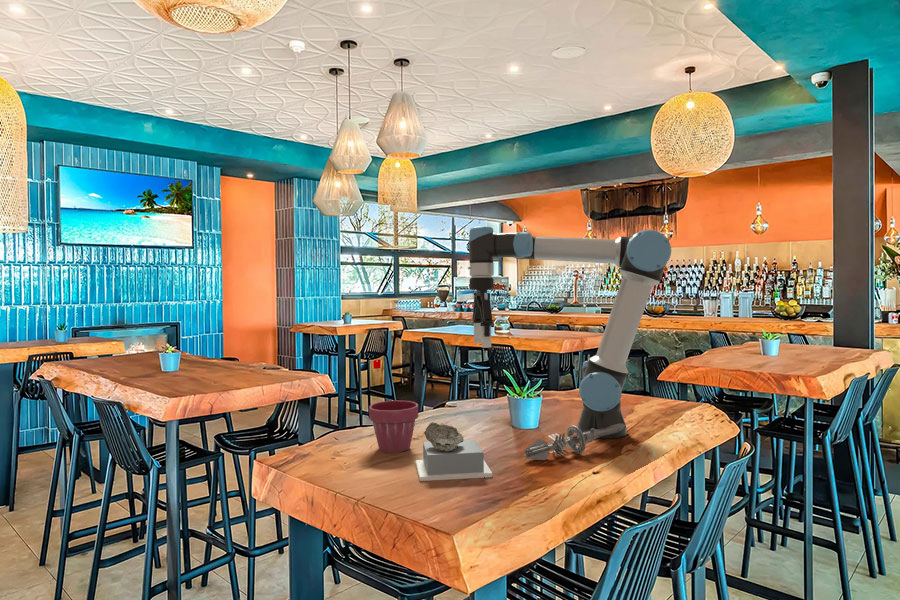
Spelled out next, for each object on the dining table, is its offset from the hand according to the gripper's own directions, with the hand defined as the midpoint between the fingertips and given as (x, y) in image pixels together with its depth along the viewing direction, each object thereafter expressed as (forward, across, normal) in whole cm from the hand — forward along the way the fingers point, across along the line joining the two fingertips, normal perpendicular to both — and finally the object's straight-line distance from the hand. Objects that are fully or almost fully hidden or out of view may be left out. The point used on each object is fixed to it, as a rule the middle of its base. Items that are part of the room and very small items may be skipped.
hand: (482, 345), depth 183 cm
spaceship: (+29, +22, +22) cm, 43 cm away
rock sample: (+23, +32, -15) cm, 42 cm away
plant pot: (+29, +8, -28) cm, 41 cm away
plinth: (+29, +31, -14) cm, 45 cm away
